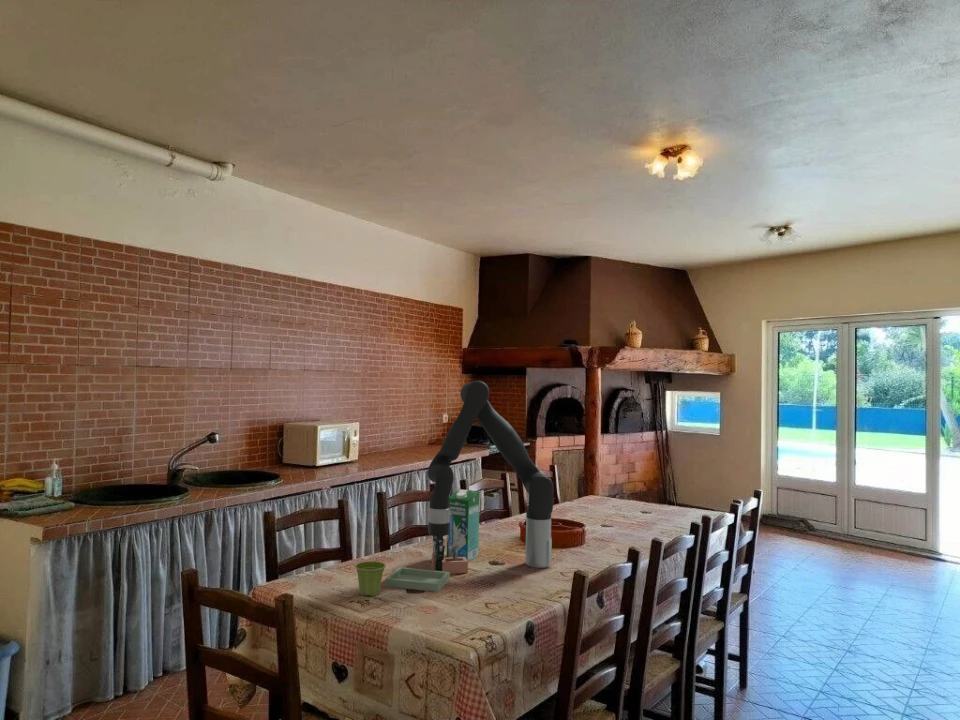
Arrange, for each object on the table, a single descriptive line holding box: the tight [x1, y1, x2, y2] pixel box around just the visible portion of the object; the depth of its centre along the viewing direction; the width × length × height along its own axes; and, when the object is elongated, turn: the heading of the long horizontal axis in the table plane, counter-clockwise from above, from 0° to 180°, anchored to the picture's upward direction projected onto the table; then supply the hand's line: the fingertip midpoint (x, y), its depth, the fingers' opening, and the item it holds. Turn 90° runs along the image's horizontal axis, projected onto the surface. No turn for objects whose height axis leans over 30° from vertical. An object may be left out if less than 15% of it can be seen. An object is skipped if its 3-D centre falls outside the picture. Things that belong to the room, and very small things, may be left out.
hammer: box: [452, 546, 459, 561], centre depth 219 cm, size 2×5×8 cm, turn 166°
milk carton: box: [445, 488, 481, 562], centre depth 236 cm, size 9×9×25 cm
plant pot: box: [354, 560, 387, 597], centre depth 194 cm, size 9×9×9 cm
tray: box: [384, 566, 451, 593], centre depth 205 cm, size 18×13×2 cm
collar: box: [431, 552, 469, 575], centre depth 218 cm, size 12×6×6 cm, turn 101°
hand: (437, 569), depth 217 cm, fingers closed on collar, 3 cm apart
